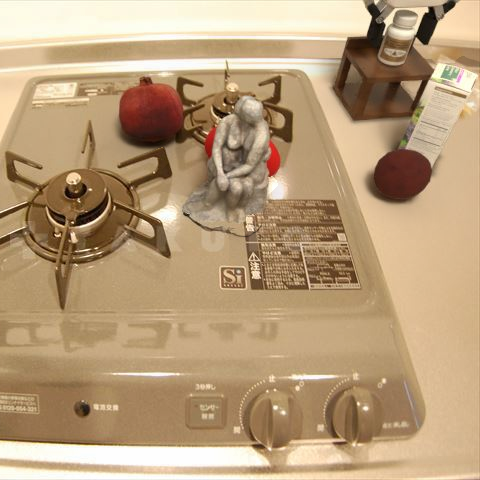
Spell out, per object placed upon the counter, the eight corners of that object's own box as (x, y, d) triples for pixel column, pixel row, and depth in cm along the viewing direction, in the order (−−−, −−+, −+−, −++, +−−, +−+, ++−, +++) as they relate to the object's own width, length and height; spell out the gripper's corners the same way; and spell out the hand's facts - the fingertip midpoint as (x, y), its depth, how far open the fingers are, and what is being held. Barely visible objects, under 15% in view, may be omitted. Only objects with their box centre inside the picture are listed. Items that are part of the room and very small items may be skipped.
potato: (430, 198, 80) (450, 160, 74) (392, 216, 77) (410, 178, 72) (393, 169, 84) (409, 132, 79) (355, 185, 81) (370, 147, 76)
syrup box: (401, 143, 89) (436, 60, 78) (438, 155, 87) (480, 72, 76) (391, 162, 85) (427, 78, 75) (430, 175, 83) (472, 91, 73)
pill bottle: (377, 64, 90) (393, 18, 84) (376, 51, 92) (391, 6, 87) (405, 68, 89) (422, 22, 83) (403, 55, 92) (420, 9, 86)
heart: (210, 98, 77) (214, 139, 86) (194, 128, 76) (199, 166, 85) (290, 123, 74) (285, 163, 83) (274, 155, 72) (271, 192, 81)
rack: (395, 84, 101) (414, 33, 93) (420, 116, 94) (443, 63, 87) (332, 88, 99) (347, 36, 92) (353, 120, 93) (371, 67, 85)
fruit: (110, 148, 88) (98, 84, 84) (155, 132, 94) (145, 72, 90) (156, 152, 80) (144, 82, 76) (201, 134, 86) (192, 69, 82)
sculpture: (182, 80, 67) (269, 71, 70) (170, 194, 79) (244, 182, 82) (217, 130, 59) (312, 117, 63) (198, 247, 72) (278, 231, 75)
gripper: (483, -89, 79) (436, 28, 92) (369, -86, 77) (337, 33, 90) (513, -71, 74) (458, 51, 87) (391, -67, 72) (354, 56, 85)
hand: (397, 41), depth 88 cm, fingers open, 7 cm apart
